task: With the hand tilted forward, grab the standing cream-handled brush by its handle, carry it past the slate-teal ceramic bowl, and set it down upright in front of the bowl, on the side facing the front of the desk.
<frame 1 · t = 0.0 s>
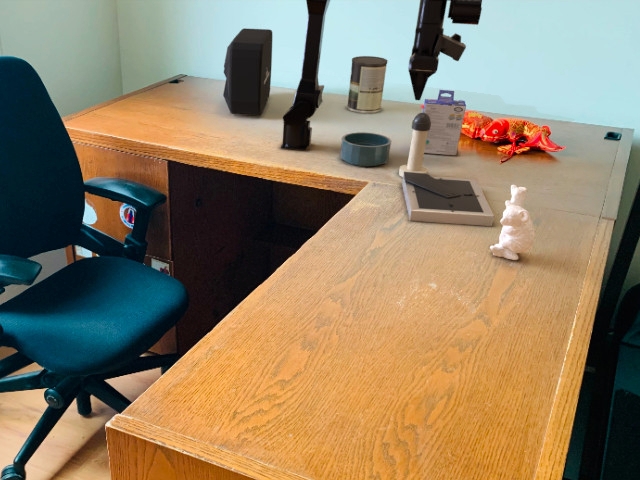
hand: (418, 95, 156), 15 cm above the table, tool pointing down, fingers open, 9 cm apart
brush: (412, 175, 153), on the table
ink cartridge box: (436, 152, 168), on the table
black hard case: (245, 106, 202), on the table
bowl: (364, 159, 161), on the table
coffee can: (363, 109, 202), on the table
white animal figurine: (506, 256, 119), on the table
picture frame: (443, 204, 139), on the table
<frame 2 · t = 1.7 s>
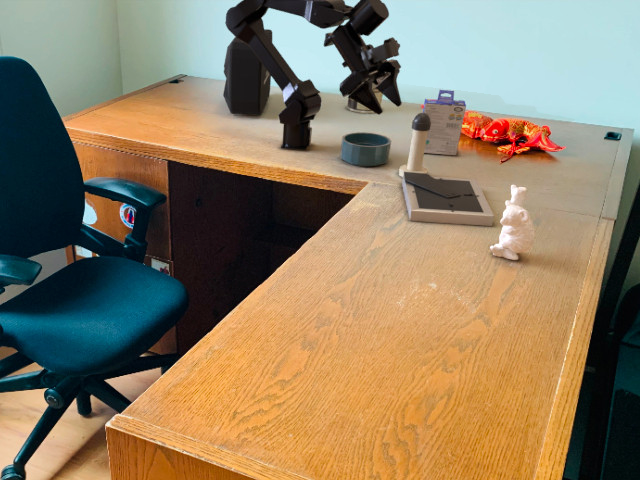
hand: (390, 109, 150), 13 cm above the table, tool tilted 45°, fingers open, 9 cm apart
nothing on the table moved.
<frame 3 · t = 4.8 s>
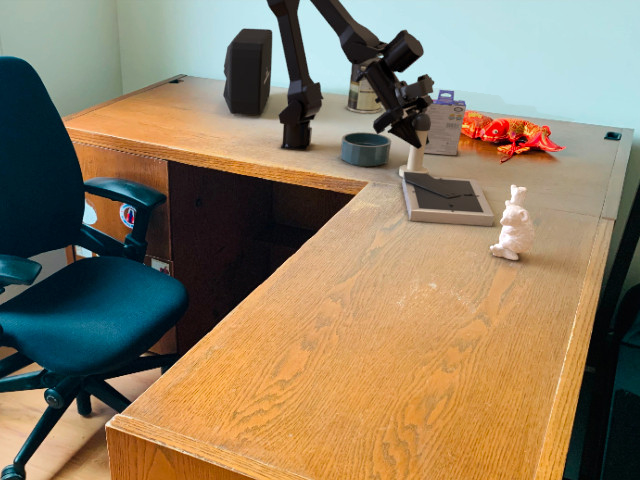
hand: (423, 145, 148), 7 cm above the table, tool tilted 45°, fingers closed on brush, 3 cm apart
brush: (412, 175, 153), on the table, touching gripper
everything else where it was.
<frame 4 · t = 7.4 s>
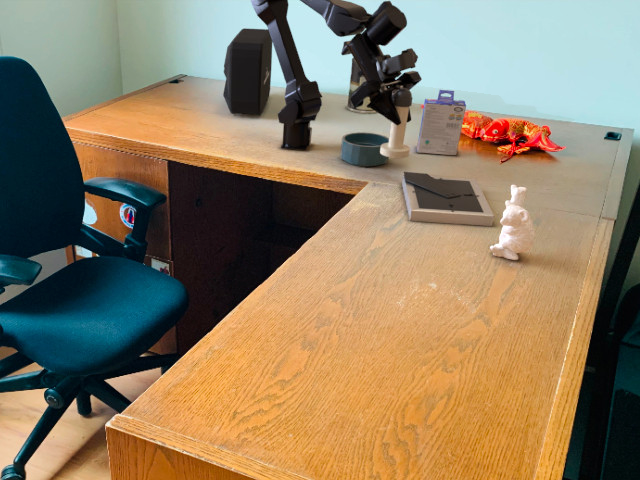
hand: (404, 122, 144), 12 cm above the table, tool tilted 45°, fingers closed on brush, 3 cm apart
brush: (394, 153, 149), point 5 cm above the table, touching gripper
everything else where it was.
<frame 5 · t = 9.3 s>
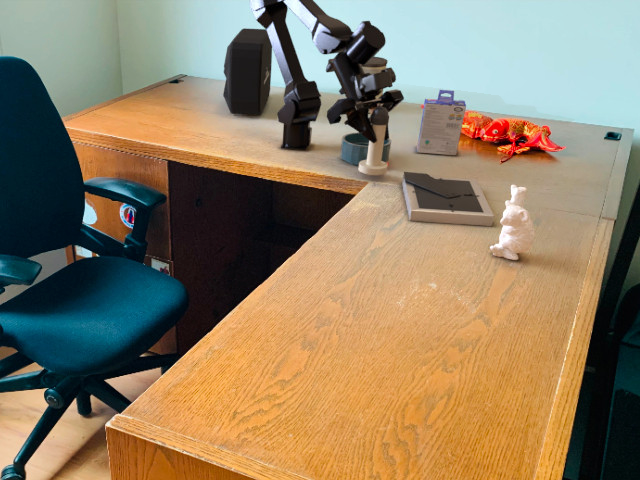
hand: (381, 140, 146), 9 cm above the table, tool tilted 45°, fingers closed on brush, 3 cm apart
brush: (372, 170, 150), point 2 cm above the table, touching gripper
everything else where it was.
when the fingers open (7 cm above the table, at t = 10.2 s): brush stays where it is, on the table.
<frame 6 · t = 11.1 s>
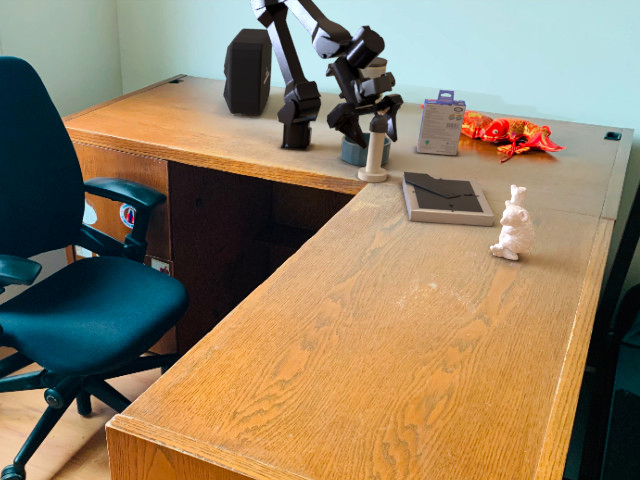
hand: (381, 144, 146), 8 cm above the table, tool tilted 45°, fingers open, 9 cm apart
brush: (372, 177, 151), on the table
everything else where it was.
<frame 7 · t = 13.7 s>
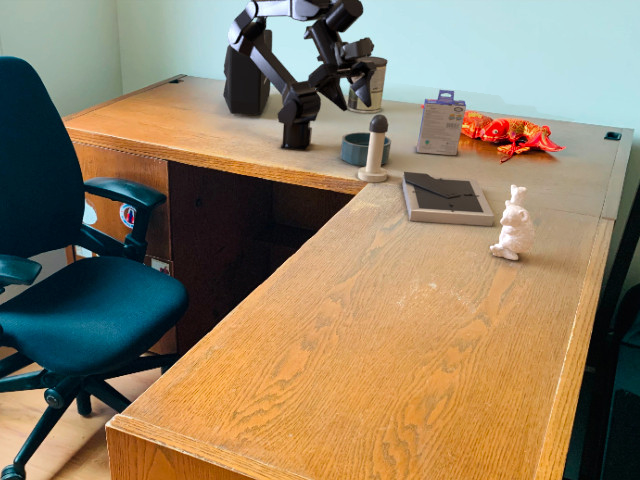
hand: (358, 108, 150), 13 cm above the table, tool tilted 40°, fingers open, 9 cm apart
nothing on the table moved.
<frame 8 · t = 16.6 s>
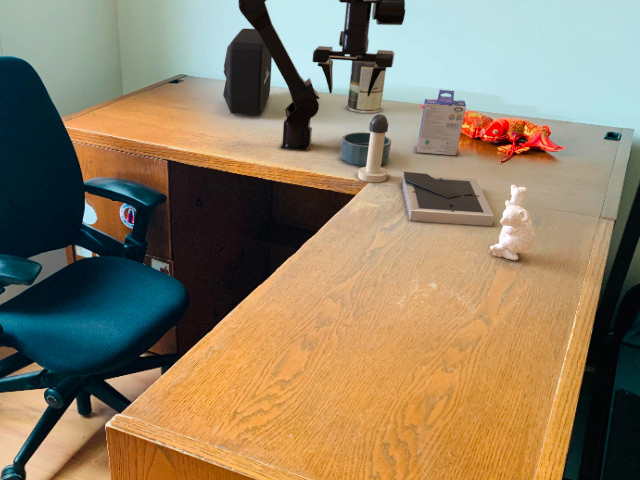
hand: (349, 94, 162), 13 cm above the table, tool pointing down, fingers open, 9 cm apart
nothing on the table moved.
at the end: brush inside the target area on the table beside the bowl (2.0 cm from its centre), on the table; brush tilted 0°; the gripper is holding nothing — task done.
